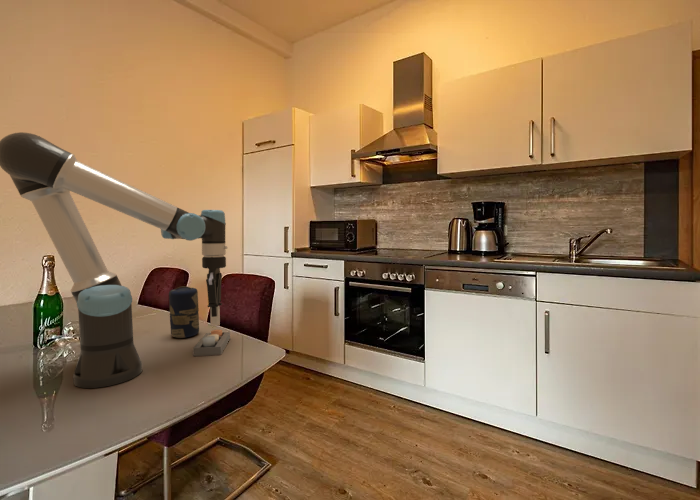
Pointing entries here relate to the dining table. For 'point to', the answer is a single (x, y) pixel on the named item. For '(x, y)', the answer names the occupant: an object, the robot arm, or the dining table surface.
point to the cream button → (215, 336)
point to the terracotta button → (217, 332)
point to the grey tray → (214, 350)
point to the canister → (184, 312)
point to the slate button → (209, 341)
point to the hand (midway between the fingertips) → (215, 325)
